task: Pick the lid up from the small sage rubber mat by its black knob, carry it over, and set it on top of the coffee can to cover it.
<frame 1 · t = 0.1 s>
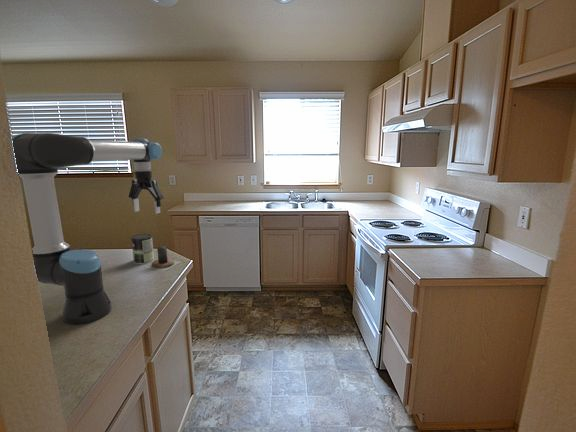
hand: (147, 212, 158), 28 cm above the counter, tool pointing down, fingers open, 13 cm apart
lid: (163, 264, 162), resting on mat
mat: (163, 265, 162), on the counter
coffee can: (144, 261, 168), on the counter
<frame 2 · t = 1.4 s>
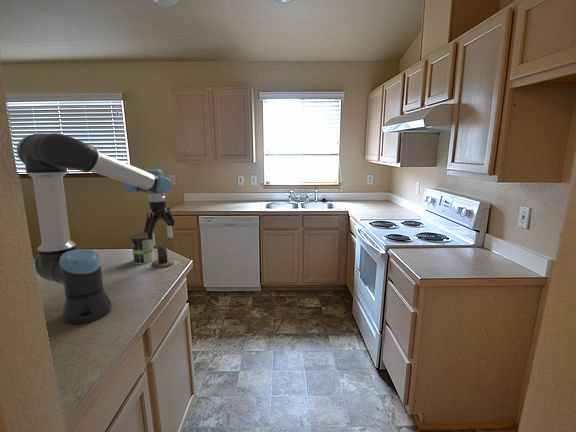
hand: (161, 241, 160), 13 cm above the counter, tool pointing down, fingers open, 13 cm apart
nothing on the counter moved.
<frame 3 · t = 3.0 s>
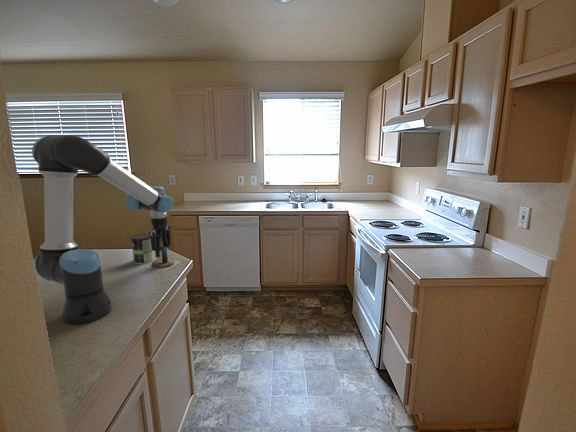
hand: (162, 260, 162), 2 cm above the counter, tool pointing down, fingers closed on lid, 4 cm apart
lid: (163, 264, 162), resting on mat, touching gripper
everything else where it was.
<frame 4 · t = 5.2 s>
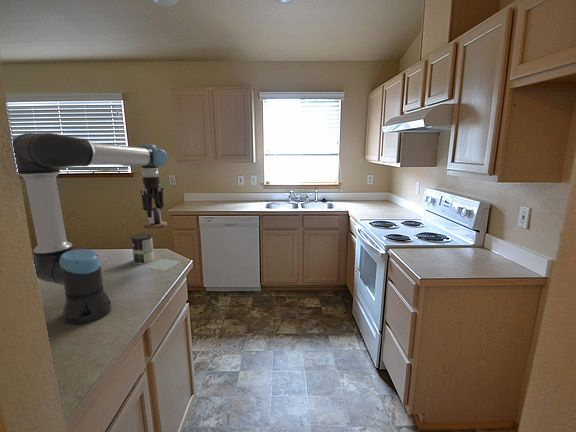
hand: (155, 222, 159), 23 cm above the counter, tool pointing down, fingers closed on lid, 4 cm apart
lid: (155, 225, 159), point 21 cm above the counter, touching gripper
everything else where it was.
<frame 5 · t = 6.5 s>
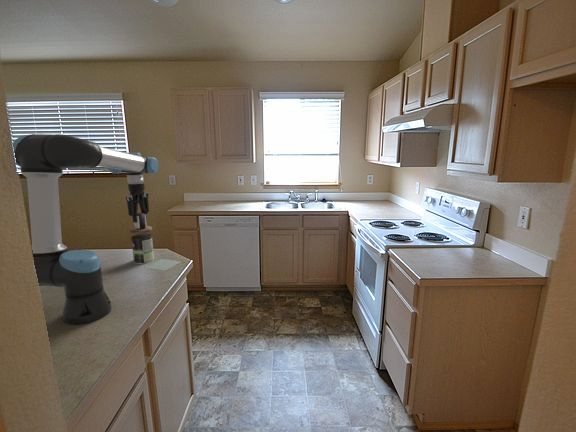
hand: (140, 226, 164), 19 cm above the counter, tool pointing down, fingers closed on lid, 4 cm apart
lid: (141, 230, 164), point 17 cm above the counter, touching gripper
everything else where it was.
when the fingers open (17 cm above the counter, at t = 7.5 s): lid stays where it is, resting on coffee can.
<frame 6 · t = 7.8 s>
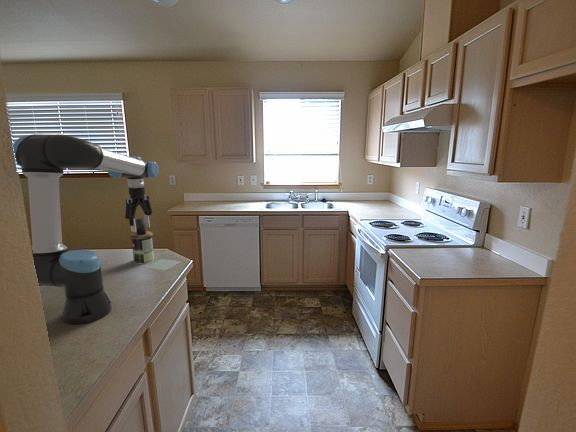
hand: (140, 229, 164), 18 cm above the counter, tool pointing down, fingers open, 9 cm apart
lid: (141, 236, 165), point 14 cm above the counter, touching coffee can
coffee can: (144, 261, 168), on the counter, touching lid
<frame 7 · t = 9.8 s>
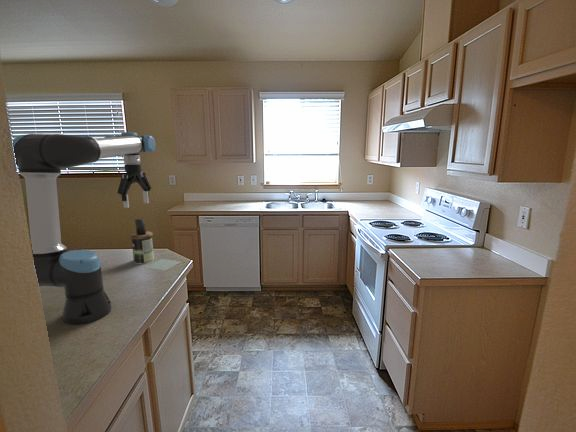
hand: (136, 205, 161), 31 cm above the counter, tool pointing down, fingers open, 13 cm apart
nothing on the counter moved.
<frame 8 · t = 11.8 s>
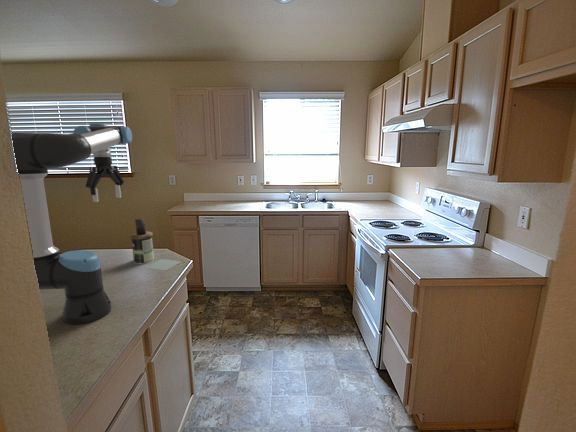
hand: (107, 199, 155), 35 cm above the counter, tool pointing down, fingers open, 13 cm apart
nothing on the counter moved.
at the end: lid 0.0 cm off-centre on the coffee can, point 14.3 cm above the coffee can's base; lid tilted 0°; coffee can tilted 0° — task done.
